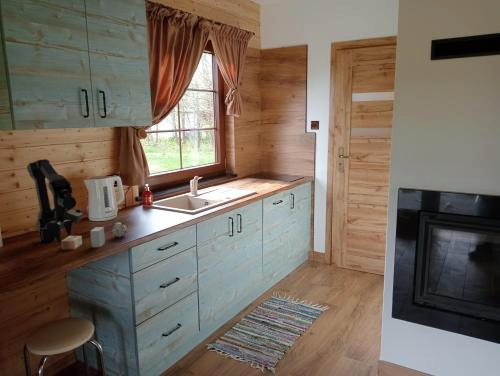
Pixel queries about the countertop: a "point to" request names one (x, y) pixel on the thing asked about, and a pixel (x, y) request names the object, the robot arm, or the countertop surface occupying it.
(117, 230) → the grey knobbly lump
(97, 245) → the grey block
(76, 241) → the birch block
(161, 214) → the countertop surface
